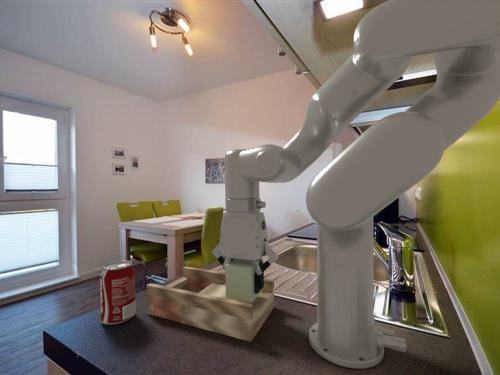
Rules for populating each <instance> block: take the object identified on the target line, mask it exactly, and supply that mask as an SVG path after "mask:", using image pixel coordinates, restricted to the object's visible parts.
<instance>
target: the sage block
mask: <svg viewBox="0 0 500 375" xmlns="http://www.w3.org/2000/svg"><path fill="white" fill-rule="evenodd" d="M224 272H225V281H226V298H229V299H235V300H240V301H246V302H251V303H252V302H253V301H254V300H255V298H256V297H257V296H258V295H259V294H260V293H261V292H262V290H261V291H260V292H259V293H258V294H256V293H255V292H254V275H255V274H256V271H255V268H254V265H253V262H252V261H247V260H238V259H235V260H233V261H231V262H230V263H228V264H226V265H225V270H224Z"/></svg>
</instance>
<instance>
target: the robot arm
mask: <svg viewBox="0 0 500 375" xmlns="http://www.w3.org/2000/svg"><path fill="white" fill-rule="evenodd" d="M353 33H354V34H353V39H352V42H353V53H352V54H351V55H350V56H349V57H348V58H347V59H346V60H345V62H344V63H343V64H342V65H341V66H339V68H338V69H337V70H336V71H334V73H333V74H332V75H331V76H330V77H329V78H328V79H327V80H326V81H325V82H324V83H323V84H322V85H321V86H320V87H319V88H318V89H317V90H316V91H315V92H314V93H313V94H312V96H311V98H310V100H309V104H308V108H307V112H306V116H305V119H304V121H303V123H302V126H301V127H300V129H299V130H298V131H297V133H296V134H294V136H293V137H292V138H291V140H290V141H289V142H287V143H286V144H285V146H283V147H282V146H280V145H277V144H271V143H270V144H269V143H268V144H262V145H258V146H255V147H251V148H247V149H246V148H245V149H244V148H237V149H231V150H228V151H227V152H226V153H225V154H224V190H225V191H224V194H225V195H224V196H225V198H224V199H225V201H224V202H225V212H223V214H222V217H221V224H220V234H219V243H217V245H216V246H215V247H214V248H213V249H212V251H211V252H212V255H213V256H214V257H215V258H216V259H217V262H219V264H220V265H221V267H222V270H223V271H225V265H226V264H228V263H230V262H231V261H233V260H235V259H238V260H247V261H252V262H253V265H254V268H255V271H256V274H255V275H254V292H255V293H256V294H258V293H259V292H260V291H261V290H262V288H263V287H264V279H265V271H266V270H267V269H268V268H269V267H270V266H271V265H272V264H274V263H275V262H276V261H277V260H278V259H279V255H278V253H276V251H274V250H273V248H272V247H271V246H270V245H269V238H268V237H269V235H268V229H267V227H268V226H267V222H266V216H265V213H264V212H263V211H262V212H261V210H262V208H263V209H264V208H265V209H266V206H267V203H266V201H263V200H261V198H260V183H267V184H268V183H270V184H271V183H273V184H279V183H282V184H285V183H290V182H292V181H294V180H296V179H297V178H298V177H299V176H301V175H302V174H303V173H304V172H305V171H306V170H307V169H308V168H309V167H311V166H312V165H313V164H314V163H315V162H316V161H317V160H319V158H320V157H321V156H322V154H324V153H325V152H326V151H327V150H328V148H329V147H330V146H331V145H332V144H333V143H334V142H335V141H336V139H338V138H339V136H340V135H341V133H342V132H343V131H344V130H345V129H346V128H347V127H348V126H349V125H350V124H351V123H353V121H354V120H356V118H358V117H359V115H361V114H362V113H363V112H364V111H365V110H366V109H367V108H369V106H371V105H372V104H373V103H374V102H375V101H376V100H377V99H378V98H379V97H380V96H381V95H383V94H384V93H385V92H386V91H387V90H388V89H389V88H390V87H392V86H393V84H395V82H397V81H398V80H399V79H400V78H401V77H402V76H403V75H404V73H405V72H406V71H407V70H408V68H409V66H410V64H411V62H412V60H413V59H414V58H413V57H418V56H425V55H430V54H434V56H433V59H434V60H433V61H434V67H435V72H436V80H435V82H434V85H433V86H432V87H431V88H430V89H429V90H427V91H426V92H424V93H423V94H422V95H421V96H420V97H419V98H418V99H417V100H416V101H414V103H413V104H412V105H410V107H409V108H407V109H406V110H405V111H400V112H394V113H390V114H389V115H386V116H383V117H382V118H380V119H378V120H377V121H376V122H374V123H373V124H371V126H369V127H368V128H367V129H365V131H363V132H362V133H361V134H360V135H359V136H358V137H356V139H354V140H353V141H352V142H351V143H350V144H349V145H348V146H346V148H345V149H344V150H342V151H341V152H340V153H339V154H338V155H337V156H336V157H334V159H333V160H331V161H330V162H329V163H328V164H327V165H326V166H324V167H323V168H322V169H321V171H319V172H318V173H317V174H316V175H315V176H314V178H313V179H312V180H311V182H310V184H309V185H308V188H307V191H306V194H305V204H306V209H307V212H308V214H309V216H310V217H311V218H312V220H313V221H314V222H315V223H316V224H317V237H316V259H317V260H316V274H317V275H316V277H317V278H316V283H317V284H316V287H317V288H316V292H317V293H316V294H317V295H316V297H317V298H316V300H317V301H316V302H317V305H316V307H317V308H316V312H317V316H316V317H317V318H316V321H317V322H315V323H314V324H313V325H312V326H311V327H310V329H309V330H308V340H309V341H308V342H309V345H310V346H311V347H312V349H313V350H314V351H315V353H316V354H318V355H319V356H320V357H322V358H324V360H327V361H328V362H330V363H332V364H335V365H338V366H341V367H344V368H348V369H356V370H357V369H359V370H360V369H370V368H373V367H375V366H377V365H379V363H381V362H382V361H383V359H384V357H385V356H384V353H385V351H384V350H385V349H384V348H386V349H387V348H388V349H392V350H393V351H394V350H395V351H399V352H402V353H403V352H404V353H407V352H406V351H407V343H406V339H405V338H404V337H403V338H402V337H398V336H395V335H396V334H395V330H393V329H387V328H381V327H380V325H376V324H377V323H376V319H375V316H374V263H375V261H374V257H375V256H374V254H375V253H374V217H375V215H377V214H379V213H380V212H382V210H384V209H385V208H386V207H388V206H389V205H390V204H392V203H393V202H394V201H396V200H397V199H398V198H400V197H401V196H403V195H404V194H406V193H407V192H408V191H409V190H410V189H412V188H414V186H416V185H417V184H418V183H420V182H421V181H422V180H423V179H425V178H426V177H427V176H428V175H429V174H431V172H432V171H433V170H435V168H436V167H437V165H439V163H440V161H441V160H442V158H443V155H444V154H445V153H444V152H445V151H446V150H447V149H449V148H450V147H452V146H453V145H454V144H455V143H456V142H457V141H458V140H460V139H461V138H462V137H463V136H465V135H466V134H467V133H468V132H469V131H470V130H471V129H473V128H474V127H476V125H477V124H479V123H480V122H481V121H483V120H484V118H486V117H487V115H489V114H490V113H491V111H493V109H494V108H495V106H496V105H497V104H498V102H499V100H500V0H386V1H384V2H383V3H380V4H379V5H376V6H375V7H373V8H372V9H371V10H370V11H368V12H367V13H366V14H365V15H364V16H363V17H362V18H361V19H360V21H359V22H358V23H357V25H356V28H355V29H354V32H353ZM265 256H267V257H268V259H266V261H264V259H263V257H265ZM225 282H226V281H225Z"/></svg>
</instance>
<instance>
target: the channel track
mask: <svg viewBox="0 0 500 375" xmlns="http://www.w3.org/2000/svg"><path fill="white" fill-rule="evenodd" d="M145 287H146V288H145V291H146V292H145V294H146V295H145V297H146V299H145V300H146V314H148V315H150V316H154V317H157V316H158V318H162V319H166V320H169V321H173V322H176V323H180V324H183V325H188V326H191V327H195V328H198V329H202V330H206V331H210V332H213V333H218V334H221V335H225V336H229V337H232V338H235V339H238V340H242V341H247V342H250V343H252V341H253V340H254V338H255V337H256V335H257V333H258V332H259V330H260V329H261V328H262V326H263V325H264V323H265V322H266V320H267V319H268V317H269V316H270V314H271V313H272V311H273V310H274V308H275V279H268V278H264V287H263V288H262V292H261V293H260V294H259V295H258V296H257V297H256V298H255V300H254V301H253V302H252V303H251V302H246V301H240V300H235V299H229V298H226V282H225V271H224V272H223V271H219V270H211V269H203V268H200V267H199V268H197V267H192V266H191V267H190V266H184V267H182V277H179V278H177V279H176V280H174V281H172V282H170V283H169V284H167V285H161V284H156V283H147V284H146V286H145Z"/></svg>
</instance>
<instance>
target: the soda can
mask: <svg viewBox="0 0 500 375" xmlns="http://www.w3.org/2000/svg"><path fill="white" fill-rule="evenodd" d="M132 264H133V263H132V261H131V260H117V261H111V262H108V263H106V264H104V265H103V267H102V268H103V270H102V271H101V273H100V275H99V287H100V288H99V290H100V291H99V293H100V296H99V297H100V303H99V304H100V322H101V323H102V324H103V325H107V326H108V325H109V326H116V325H121V324H123V323H126V322H127V321H130V320H131V318H133V317H134V316H135V315H136V311H137V309H136V269H135V268H134V266H133V265H132Z"/></svg>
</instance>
